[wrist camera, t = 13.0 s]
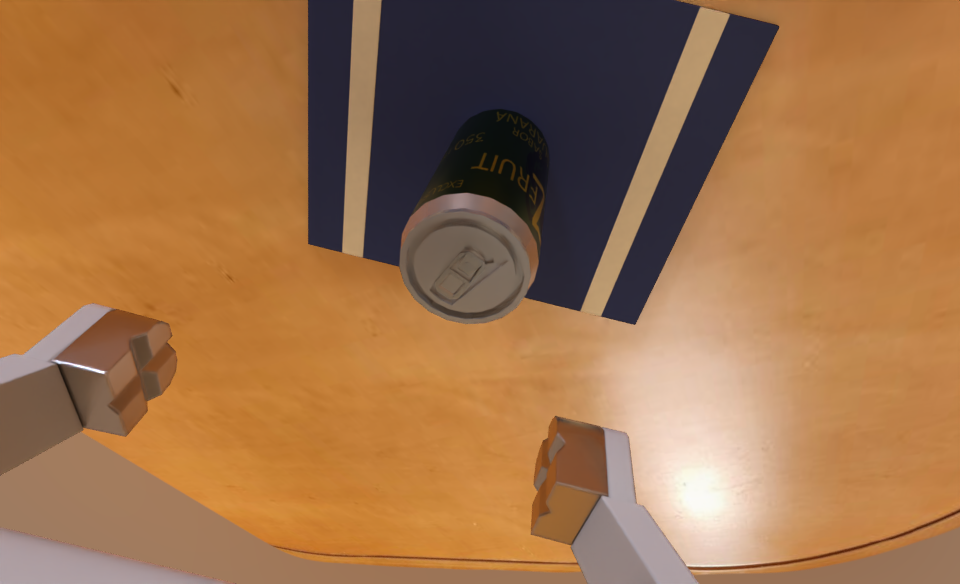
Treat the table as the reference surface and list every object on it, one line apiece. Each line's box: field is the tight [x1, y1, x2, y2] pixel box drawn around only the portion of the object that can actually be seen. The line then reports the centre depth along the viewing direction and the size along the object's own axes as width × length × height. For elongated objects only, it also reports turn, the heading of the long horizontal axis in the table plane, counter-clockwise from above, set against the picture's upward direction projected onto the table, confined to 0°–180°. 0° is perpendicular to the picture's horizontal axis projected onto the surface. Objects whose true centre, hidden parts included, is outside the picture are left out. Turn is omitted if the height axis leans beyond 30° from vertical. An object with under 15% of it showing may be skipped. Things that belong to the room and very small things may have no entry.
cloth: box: [308, 0, 779, 325], centre depth 29 cm, size 22×18×1 cm
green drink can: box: [399, 109, 550, 324], centre depth 24 cm, size 5×5×12 cm
